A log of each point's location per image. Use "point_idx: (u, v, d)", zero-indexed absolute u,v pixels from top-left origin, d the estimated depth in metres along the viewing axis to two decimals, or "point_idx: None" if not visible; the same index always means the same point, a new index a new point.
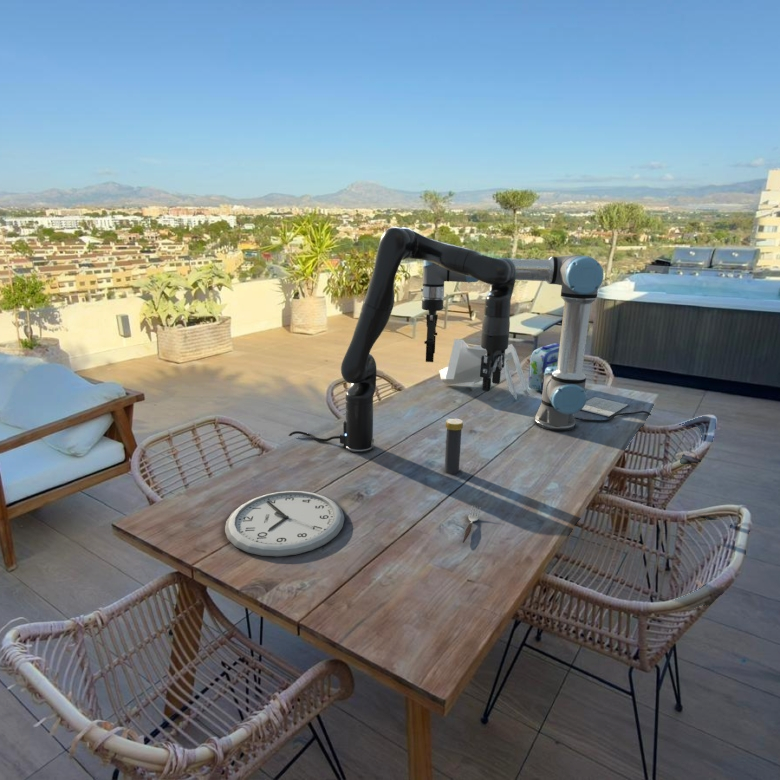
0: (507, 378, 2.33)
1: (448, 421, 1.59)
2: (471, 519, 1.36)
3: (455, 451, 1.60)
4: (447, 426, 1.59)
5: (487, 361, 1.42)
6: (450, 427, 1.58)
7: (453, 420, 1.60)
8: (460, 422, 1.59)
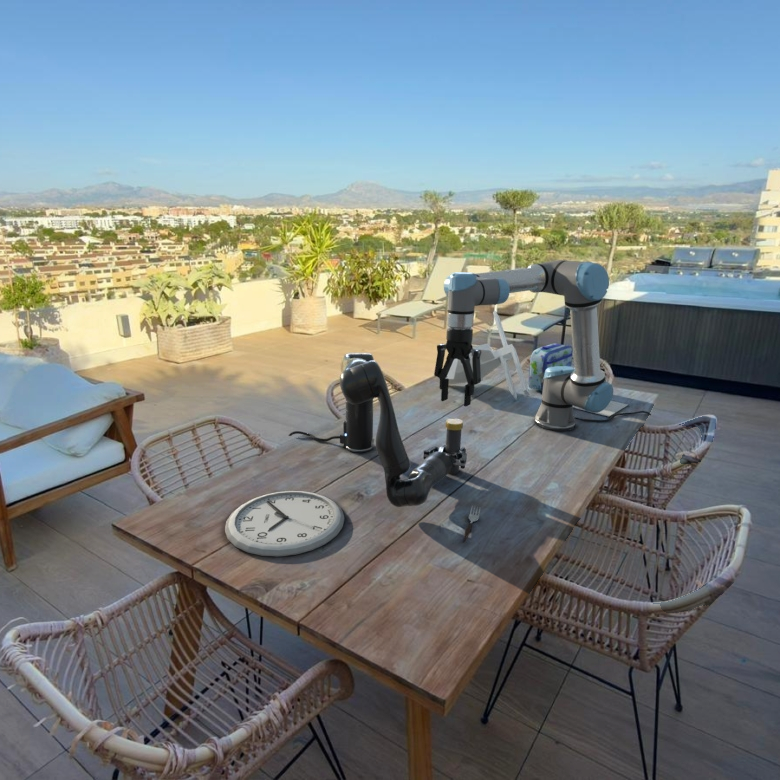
0: (507, 378, 2.33)
1: (448, 421, 1.59)
2: (471, 519, 1.36)
3: (455, 451, 1.60)
4: (447, 426, 1.59)
5: None
6: (450, 427, 1.58)
7: (453, 420, 1.60)
8: (460, 422, 1.59)
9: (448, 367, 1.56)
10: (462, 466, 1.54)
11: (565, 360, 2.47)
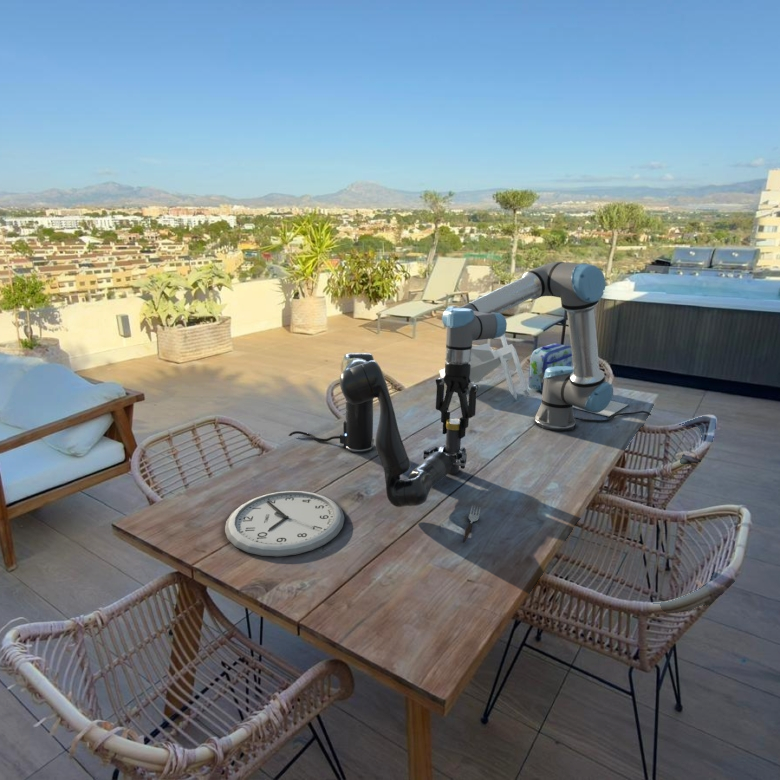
0: (507, 378, 2.33)
1: (448, 421, 1.59)
2: (471, 519, 1.36)
3: (455, 451, 1.60)
4: (447, 426, 1.59)
5: None
6: (450, 427, 1.58)
7: (453, 420, 1.60)
8: None
9: (448, 400, 1.59)
10: (462, 466, 1.54)
11: (565, 360, 2.47)
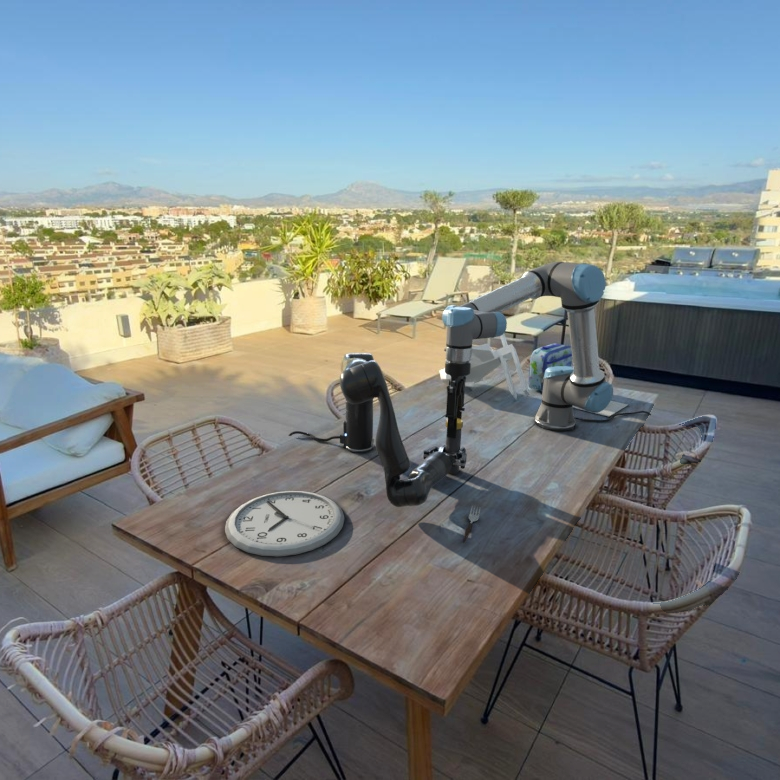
0: (507, 378, 2.33)
1: (457, 422, 1.58)
2: (471, 519, 1.36)
3: (455, 451, 1.60)
4: (460, 426, 1.58)
5: None
6: (462, 425, 1.59)
7: None
8: None
9: None
10: (462, 466, 1.54)
11: (565, 360, 2.47)
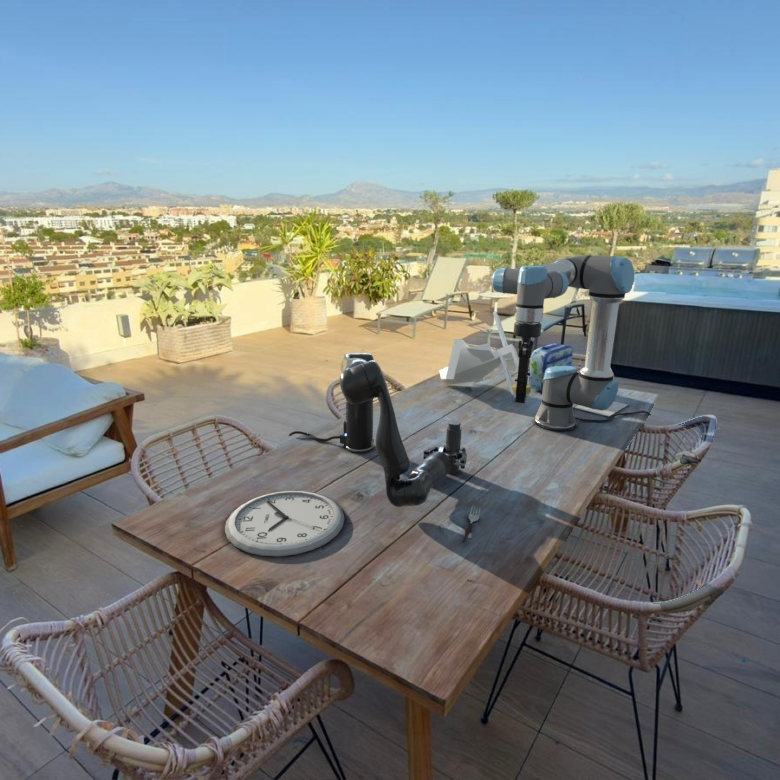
0: (507, 378, 2.33)
1: (526, 387, 1.52)
2: (471, 519, 1.36)
3: (455, 451, 1.60)
4: (528, 391, 1.52)
5: None
6: (530, 390, 1.53)
7: None
8: None
9: None
10: (462, 466, 1.54)
11: (565, 360, 2.47)
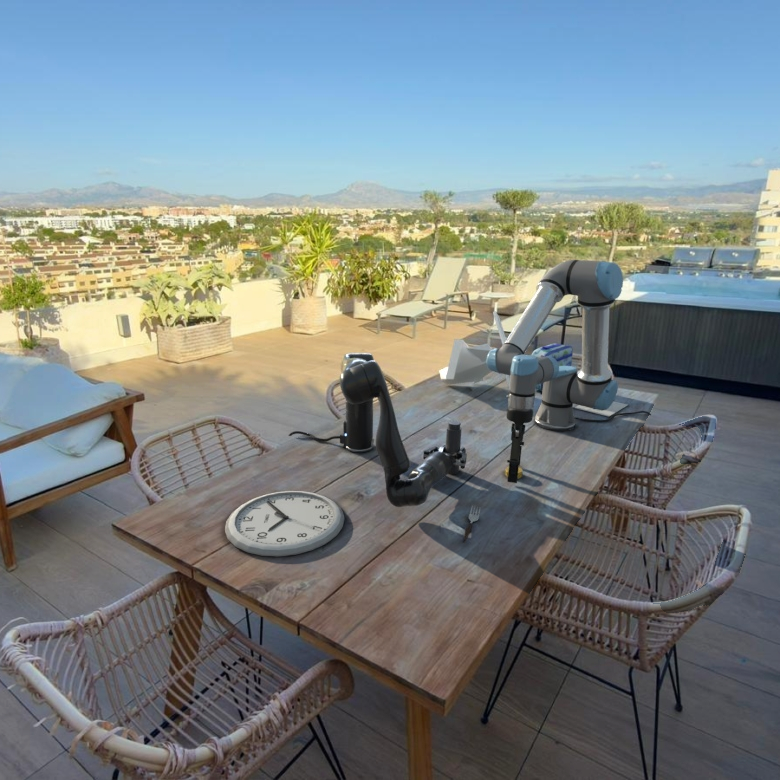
0: (507, 378, 2.33)
1: (518, 471, 1.60)
2: (471, 519, 1.36)
3: (455, 451, 1.60)
4: (520, 475, 1.60)
5: None
6: None
7: None
8: None
9: None
10: (462, 466, 1.54)
11: (565, 360, 2.47)
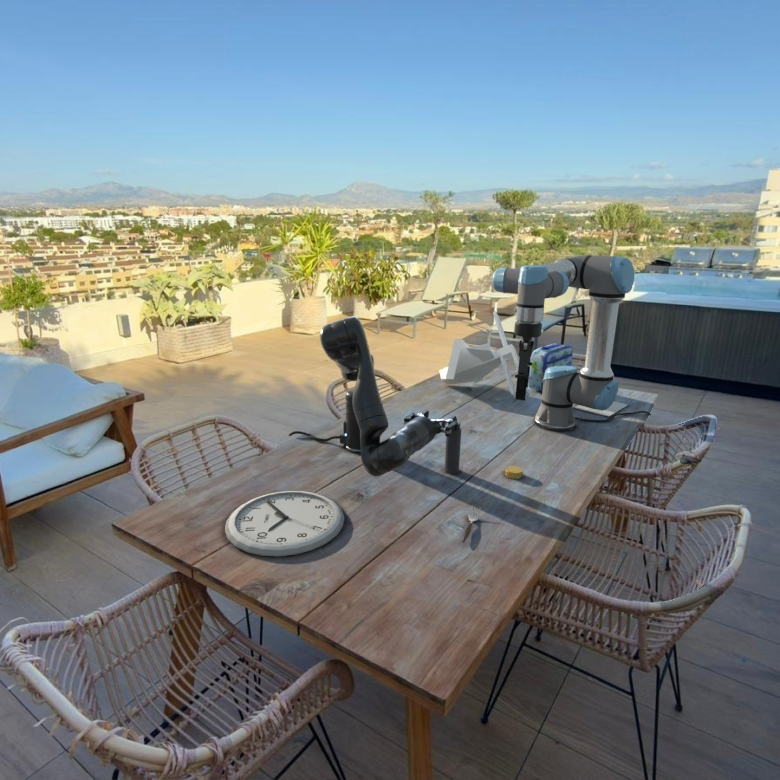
0: (507, 378, 2.33)
1: (518, 471, 1.60)
2: (471, 519, 1.36)
3: (455, 451, 1.60)
4: (520, 475, 1.60)
5: None
6: None
7: (512, 470, 1.61)
8: (513, 466, 1.63)
9: None
10: (446, 434, 1.38)
11: (565, 360, 2.47)
